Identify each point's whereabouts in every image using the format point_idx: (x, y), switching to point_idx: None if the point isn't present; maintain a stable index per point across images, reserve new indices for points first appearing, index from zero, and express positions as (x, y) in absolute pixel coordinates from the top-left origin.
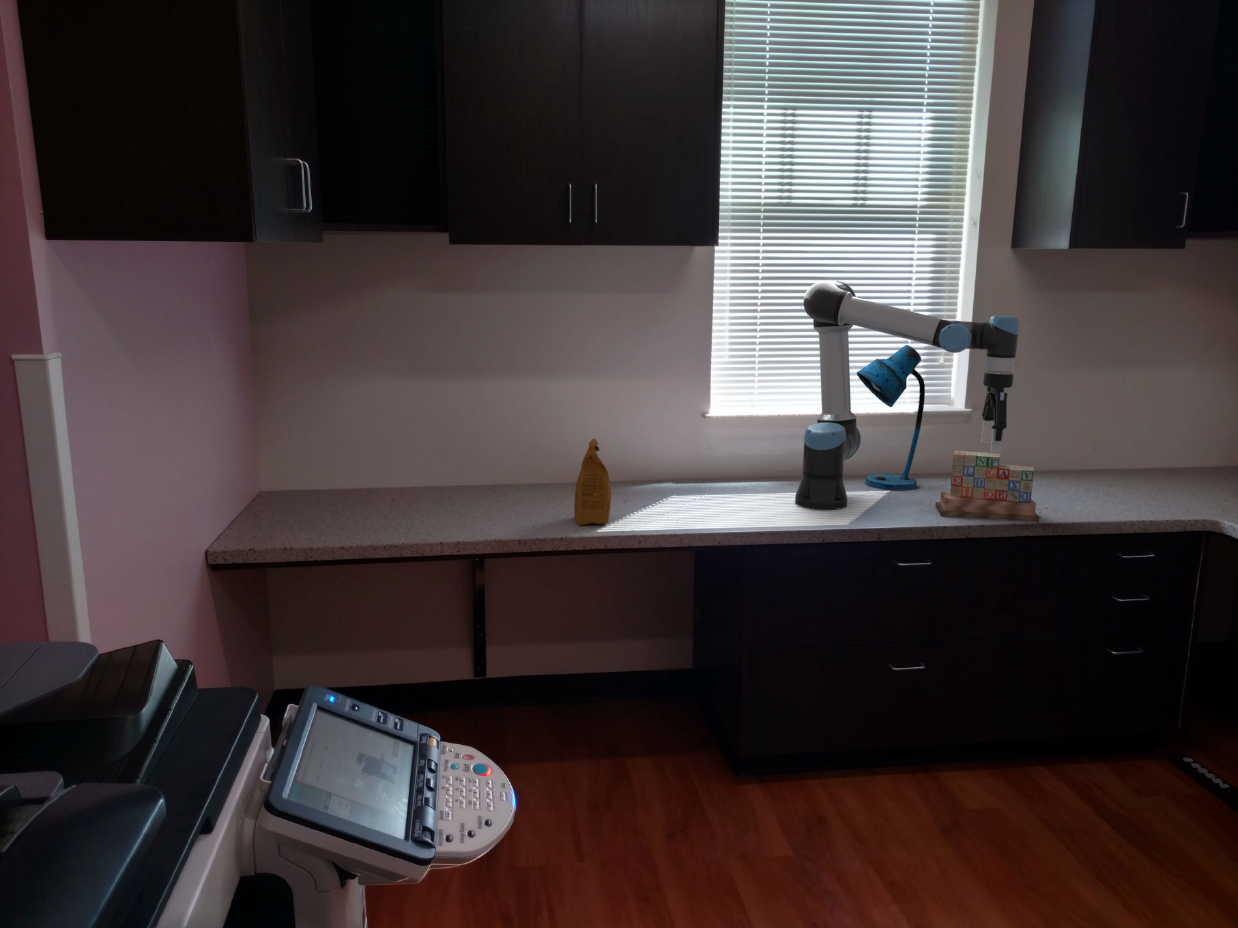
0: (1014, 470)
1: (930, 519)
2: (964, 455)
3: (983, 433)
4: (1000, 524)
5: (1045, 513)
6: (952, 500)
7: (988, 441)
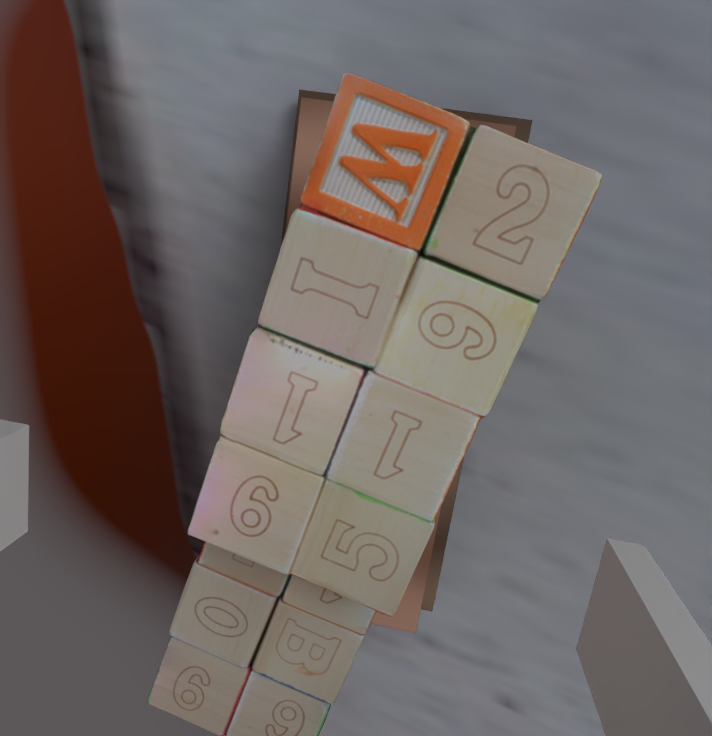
0: (186, 586)
1: (236, 13)
2: (300, 203)
3: (655, 644)
4: (183, 364)
5: (409, 655)
6: (297, 145)
7: (594, 635)
